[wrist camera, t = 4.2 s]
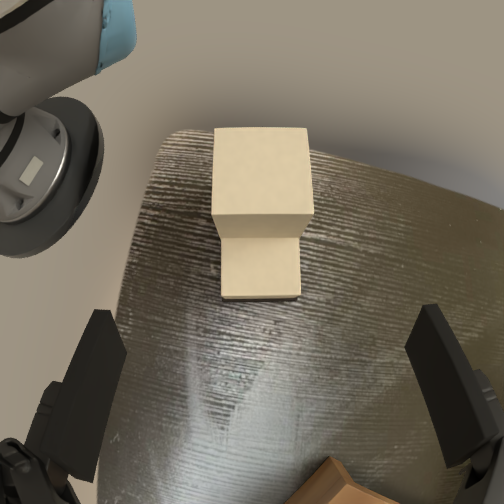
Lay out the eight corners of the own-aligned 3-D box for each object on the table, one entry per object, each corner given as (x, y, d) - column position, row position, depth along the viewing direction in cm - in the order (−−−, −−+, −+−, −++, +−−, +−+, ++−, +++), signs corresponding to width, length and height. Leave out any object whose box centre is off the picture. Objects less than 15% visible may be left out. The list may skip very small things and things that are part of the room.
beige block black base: (224, 181, 30) (213, 121, 20) (290, 181, 30) (307, 122, 20) (223, 302, 28) (208, 293, 18) (295, 301, 28) (320, 291, 18)
